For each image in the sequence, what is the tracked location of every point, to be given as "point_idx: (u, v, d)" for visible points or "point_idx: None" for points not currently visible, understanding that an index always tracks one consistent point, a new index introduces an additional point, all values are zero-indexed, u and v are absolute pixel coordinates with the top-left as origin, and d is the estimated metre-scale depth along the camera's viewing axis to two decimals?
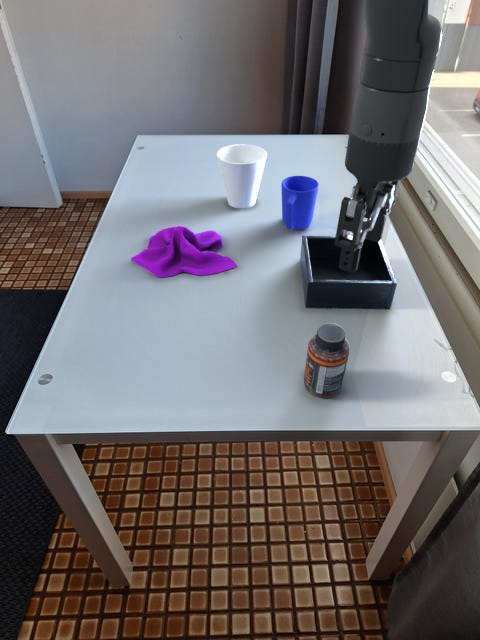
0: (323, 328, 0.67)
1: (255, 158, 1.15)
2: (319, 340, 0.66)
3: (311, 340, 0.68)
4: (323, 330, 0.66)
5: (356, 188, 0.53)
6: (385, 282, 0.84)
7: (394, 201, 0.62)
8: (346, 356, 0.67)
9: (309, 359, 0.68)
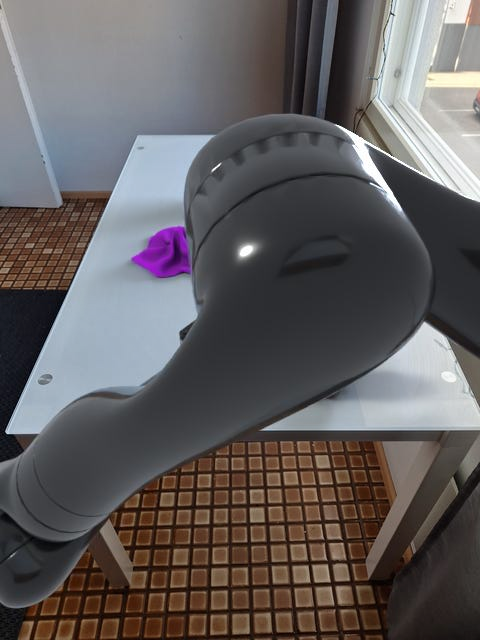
0: None
1: None
2: None
3: None
4: None
5: None
6: None
7: None
8: None
9: None
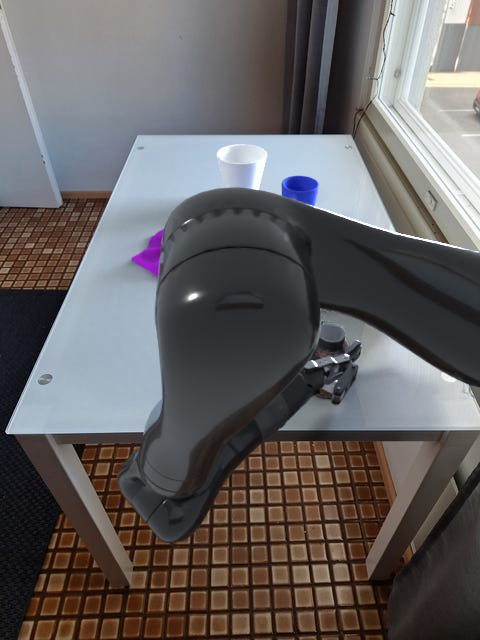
0: (323, 328, 0.67)
1: (255, 158, 1.15)
2: (319, 340, 0.66)
3: None
4: (323, 330, 0.66)
5: (314, 395, 0.62)
6: None
7: None
8: None
9: None
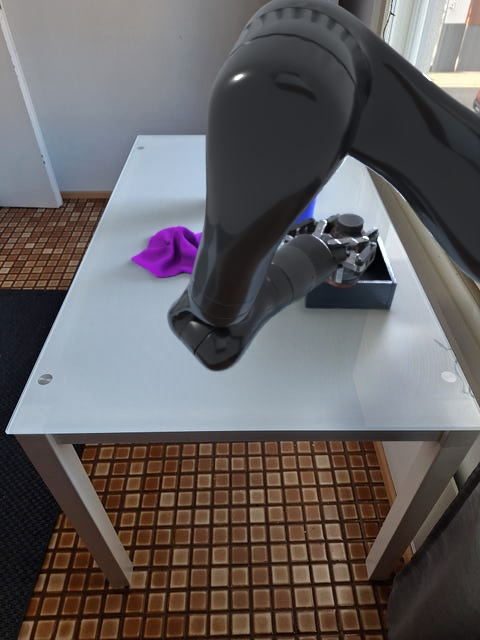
0: (343, 216, 0.73)
1: None
2: (339, 226, 0.72)
3: (332, 230, 0.74)
4: (343, 218, 0.73)
5: None
6: (385, 282, 0.84)
7: (311, 219, 0.74)
8: None
9: None
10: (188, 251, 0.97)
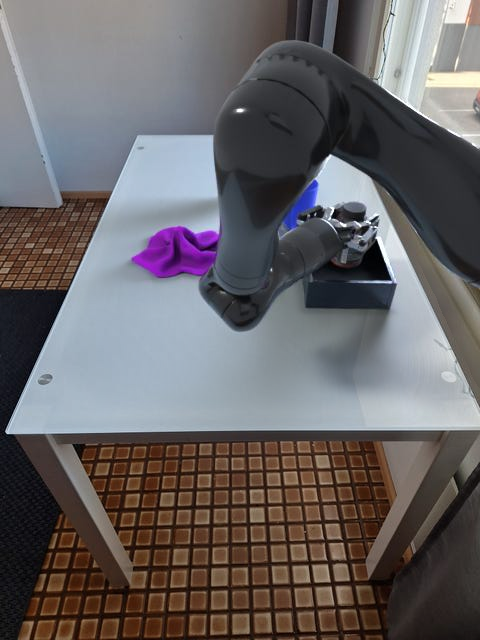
0: (348, 204, 0.83)
1: None
2: (345, 212, 0.82)
3: (338, 216, 0.84)
4: (348, 205, 0.82)
5: (343, 248, 0.78)
6: (385, 282, 0.84)
7: (320, 206, 0.84)
8: None
9: None
10: (188, 251, 0.97)
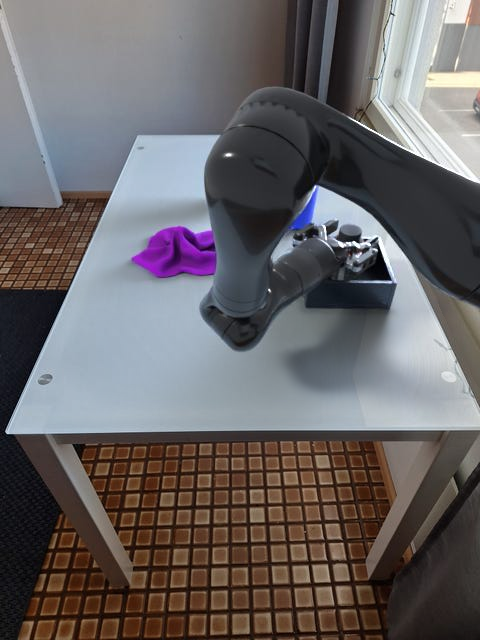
0: (344, 227, 0.86)
1: None
2: (341, 235, 0.85)
3: (334, 238, 0.87)
4: (344, 228, 0.85)
5: (340, 267, 0.80)
6: (385, 282, 0.84)
7: (312, 224, 0.86)
8: None
9: None
10: (188, 251, 0.97)
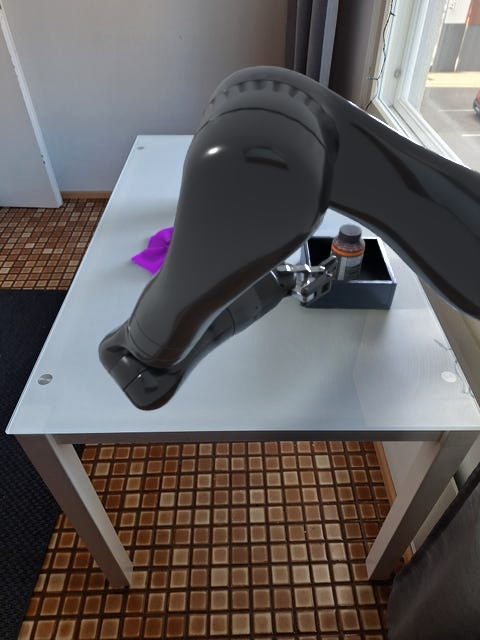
0: (344, 227, 0.86)
1: None
2: (341, 235, 0.85)
3: (334, 238, 0.87)
4: (344, 228, 0.85)
5: (287, 296, 0.65)
6: (385, 282, 0.84)
7: None
8: (362, 249, 0.86)
9: (333, 253, 0.87)
10: None
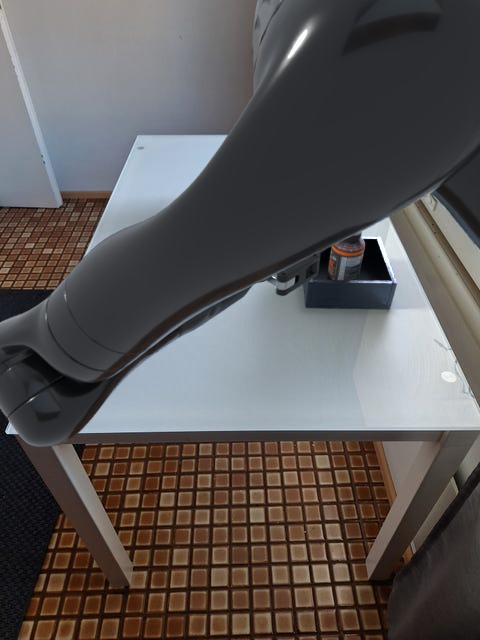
0: None
1: None
2: None
3: None
4: None
5: (259, 282, 0.48)
6: (385, 282, 0.84)
7: None
8: (362, 249, 0.86)
9: (333, 253, 0.87)
10: None
